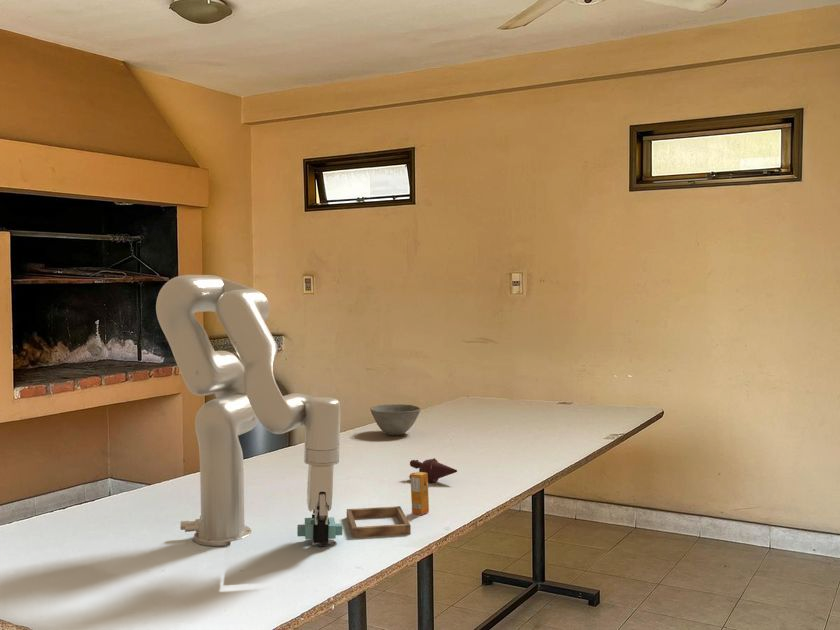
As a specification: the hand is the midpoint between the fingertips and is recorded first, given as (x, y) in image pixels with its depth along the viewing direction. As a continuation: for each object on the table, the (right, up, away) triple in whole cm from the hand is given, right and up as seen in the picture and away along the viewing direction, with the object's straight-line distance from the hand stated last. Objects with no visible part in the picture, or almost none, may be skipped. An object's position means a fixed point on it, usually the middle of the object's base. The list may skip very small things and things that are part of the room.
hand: (319, 536), depth 174 cm
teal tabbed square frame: (0, 0, 0) cm, 0 cm away
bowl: (+13, +3, +124) cm, 125 cm away
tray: (+12, -2, +12) cm, 17 cm away
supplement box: (+22, -1, +25) cm, 33 cm away
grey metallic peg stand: (+1, -2, 0) cm, 3 cm away
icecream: (+25, 0, +55) cm, 61 cm away
